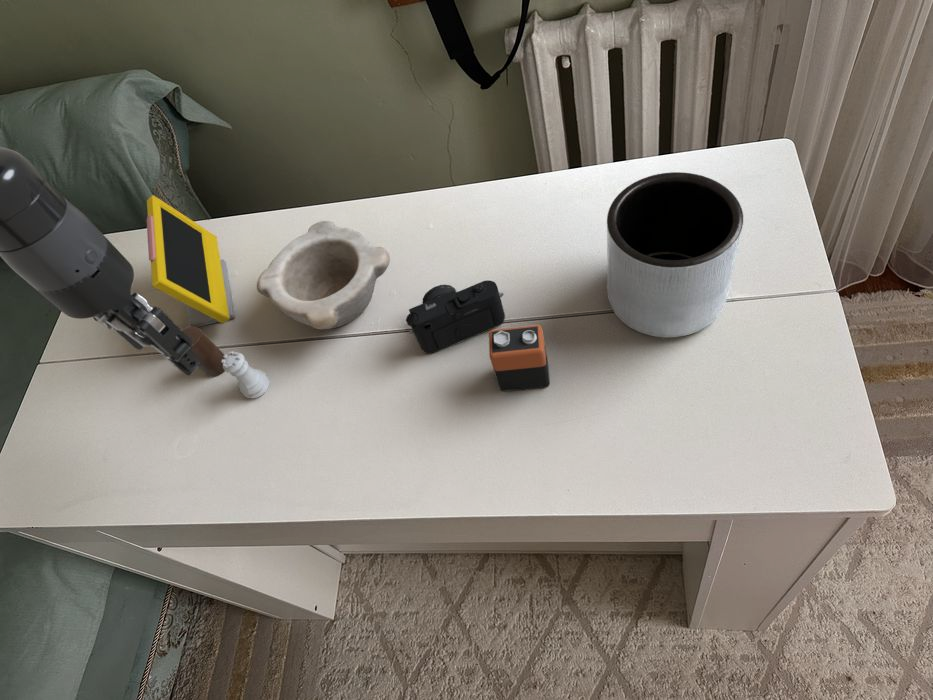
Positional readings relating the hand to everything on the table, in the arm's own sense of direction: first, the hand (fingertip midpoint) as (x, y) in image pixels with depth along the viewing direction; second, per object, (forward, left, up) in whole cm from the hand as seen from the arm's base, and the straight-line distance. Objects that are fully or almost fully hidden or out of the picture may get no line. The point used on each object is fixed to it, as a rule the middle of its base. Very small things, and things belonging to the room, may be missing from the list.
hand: (168, 355), depth 70 cm
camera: (+28, -16, -23) cm, 40 cm away
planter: (+44, -41, -23) cm, 65 cm away
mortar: (+24, +4, -23) cm, 34 cm away
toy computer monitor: (+16, +27, -23) cm, 39 cm away
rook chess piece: (+6, +7, -23) cm, 25 cm away
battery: (+24, -29, -23) cm, 44 cm away
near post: (+6, +16, -23) cm, 28 cm away
